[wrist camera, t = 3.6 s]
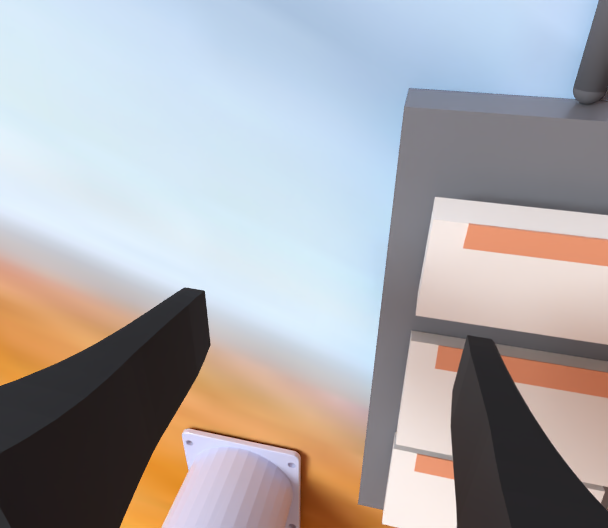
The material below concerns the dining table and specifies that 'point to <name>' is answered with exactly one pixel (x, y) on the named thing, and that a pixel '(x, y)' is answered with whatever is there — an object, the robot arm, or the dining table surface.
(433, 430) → the block
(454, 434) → the robot arm
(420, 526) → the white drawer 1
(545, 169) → the grey flat board
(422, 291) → the white tile
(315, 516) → the dining table surface
